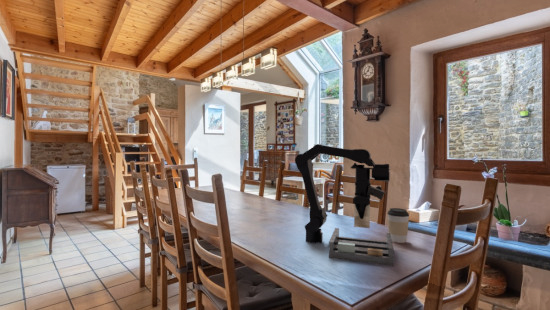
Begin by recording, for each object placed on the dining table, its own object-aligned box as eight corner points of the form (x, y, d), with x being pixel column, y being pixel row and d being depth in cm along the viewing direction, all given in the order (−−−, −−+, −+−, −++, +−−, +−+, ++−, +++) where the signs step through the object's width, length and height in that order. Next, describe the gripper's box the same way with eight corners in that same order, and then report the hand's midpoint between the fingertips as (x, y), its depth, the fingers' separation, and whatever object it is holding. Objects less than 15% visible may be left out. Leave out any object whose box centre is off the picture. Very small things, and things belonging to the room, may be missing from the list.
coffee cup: (407, 240, 133) (407, 207, 133) (410, 246, 125) (411, 211, 124) (385, 238, 136) (386, 206, 136) (387, 244, 127) (388, 210, 127)
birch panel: (354, 226, 120) (354, 204, 120) (354, 225, 122) (354, 203, 122) (369, 228, 118) (370, 205, 118) (369, 227, 120) (370, 205, 120)
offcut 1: (337, 257, 109) (337, 243, 109) (338, 255, 111) (338, 242, 111) (354, 259, 107) (354, 245, 107) (354, 257, 109) (355, 243, 109)
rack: (328, 260, 108) (329, 241, 108) (335, 244, 127) (335, 228, 127) (393, 268, 101) (393, 248, 101) (389, 250, 120) (390, 233, 120)
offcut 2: (367, 260, 106) (367, 249, 106) (367, 258, 108) (367, 247, 107) (382, 262, 104) (382, 251, 104) (382, 260, 106) (382, 249, 106)
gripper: (384, 183, 108) (383, 225, 109) (383, 178, 126) (382, 215, 126) (353, 181, 112) (352, 222, 112) (356, 177, 130) (355, 213, 130)
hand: (361, 218), depth 120 cm, fingers closed on birch panel, 2 cm apart
